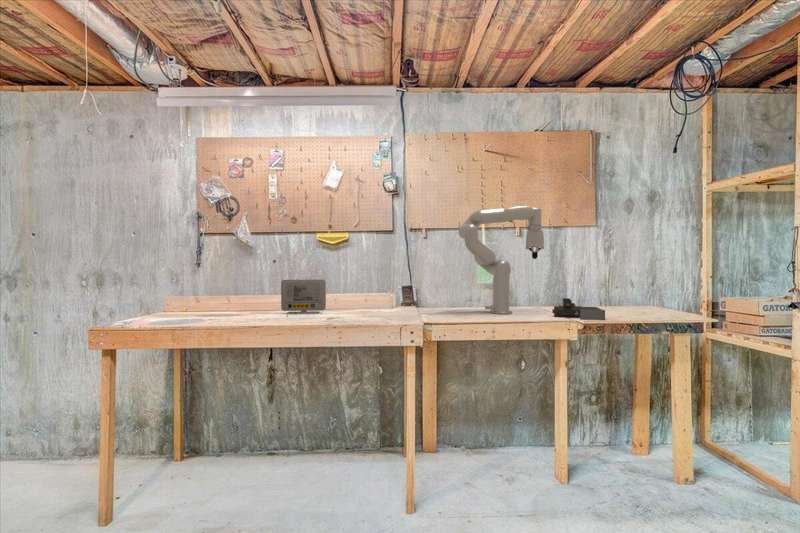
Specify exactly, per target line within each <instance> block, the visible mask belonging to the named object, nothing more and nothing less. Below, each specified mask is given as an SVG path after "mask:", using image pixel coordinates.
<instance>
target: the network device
mask: <svg viewBox="0 0 800 533" xmlns="http://www.w3.org/2000/svg"><path fill="white" fill-rule="evenodd" d="M326 284H327V281H326V280H325V279H282V280H281V282H280V295H281V296H280V304H281V305H280V307H281V308H280V309H281V311H284V312H286V315H319V314H321V311H325V310H326V307H327V306H326V305H327V302H326V301H327V298H326V296H327V294H326V293H327V292H326V291H327V288H326V287H327V285H326ZM287 311H288V312H287Z"/></svg>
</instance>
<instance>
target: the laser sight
mask: <svg viewBox="0 0 800 533" xmlns="http://www.w3.org/2000/svg"><path fill="white" fill-rule="evenodd" d="M572 301H573V299H571V298H569V297H568V298H565V297H564V298H562V305H558V306H557V305H554V306H553V308H552V311H551V312H552V314H553V317H555V318H556V317H559V318H576V319H577V318H579V319H580V310H597V307H598V306H583V305H576V304H575V303H576V302H572Z"/></svg>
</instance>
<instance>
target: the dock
mask: <svg viewBox="0 0 800 533" xmlns="http://www.w3.org/2000/svg"><path fill="white" fill-rule="evenodd" d="M596 307H597V310H580V318H579V319H580V320H590V321H591V320H593V321H594V320H595V321H596V320H599V321H605V320H606V310H605V309H603V308H601V307H598V306H596Z"/></svg>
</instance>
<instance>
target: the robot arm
mask: <svg viewBox="0 0 800 533" xmlns="http://www.w3.org/2000/svg"><path fill="white" fill-rule="evenodd" d="M527 220H528V221H527ZM510 221H527V226H525V229H526V235H525V236H526V237H525V250H529V252H531V258H532V259H533V260H537V258H538V253H539V252H540V251H541V250H545V241H544V240H545V238H544V230H543V229H542V209H541V208H540V207H532V206H530V205H523V206H513V207H512V206H511V207H498V208H486V209H479V210H476V211H474V212H472V213H471V214H470V215H469V217H468V218H467V219H466V220H465V221H464V222H463V223H462V224H461V226H460V227H459V229H458V235H459V237H460V238H461V239H464V244H465V247H466V249H467V251H468V252H470V253H471V254H472V255H473V257H474V261H475V263H476V264H477V265H478V266H480V267H481V268H483V270H485V271H486V272H488V273H489V274H490V275H492V276H493V279H492V305H490V306H489V305H484V309H485V310H489V313H490V314H495V315H496V314H498V315H510V314H513V311H512V310H510V279H511V278H510V277H511V270H512V269H511V268H512V267H511V264H510V263H509V261H507V260H505V259H497V257H496V256H497V255H496V254H495V252H494V251H493V250H492V249H490V247H488V246H487V245H485V244H484V243H483V242H482V241H481V240H480V239H479V227H480V225H486V224H501V223H506V222H510ZM534 249H535V250H534Z"/></svg>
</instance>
